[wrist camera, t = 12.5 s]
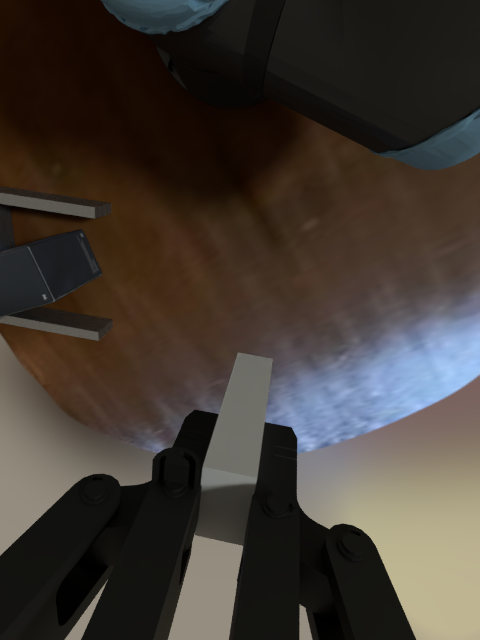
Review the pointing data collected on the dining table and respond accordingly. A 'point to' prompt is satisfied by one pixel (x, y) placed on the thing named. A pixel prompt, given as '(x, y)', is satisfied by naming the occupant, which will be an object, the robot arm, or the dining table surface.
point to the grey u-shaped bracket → (3, 240)
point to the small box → (45, 271)
